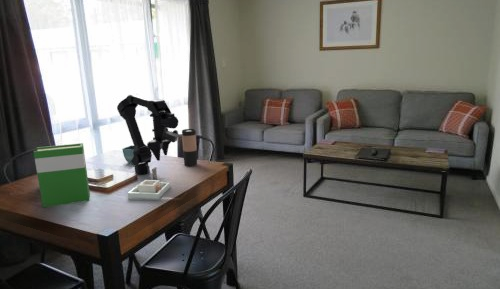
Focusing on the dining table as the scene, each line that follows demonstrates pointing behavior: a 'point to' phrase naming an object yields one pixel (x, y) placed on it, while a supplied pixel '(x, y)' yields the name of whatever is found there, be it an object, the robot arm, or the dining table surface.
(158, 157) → the robot arm
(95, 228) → the dining table surface
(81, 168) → the hardback book
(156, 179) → the stand
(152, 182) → the collar
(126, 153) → the flower pot
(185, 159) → the travel mug
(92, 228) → the dining table surface
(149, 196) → the tray
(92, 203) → the dining table surface
